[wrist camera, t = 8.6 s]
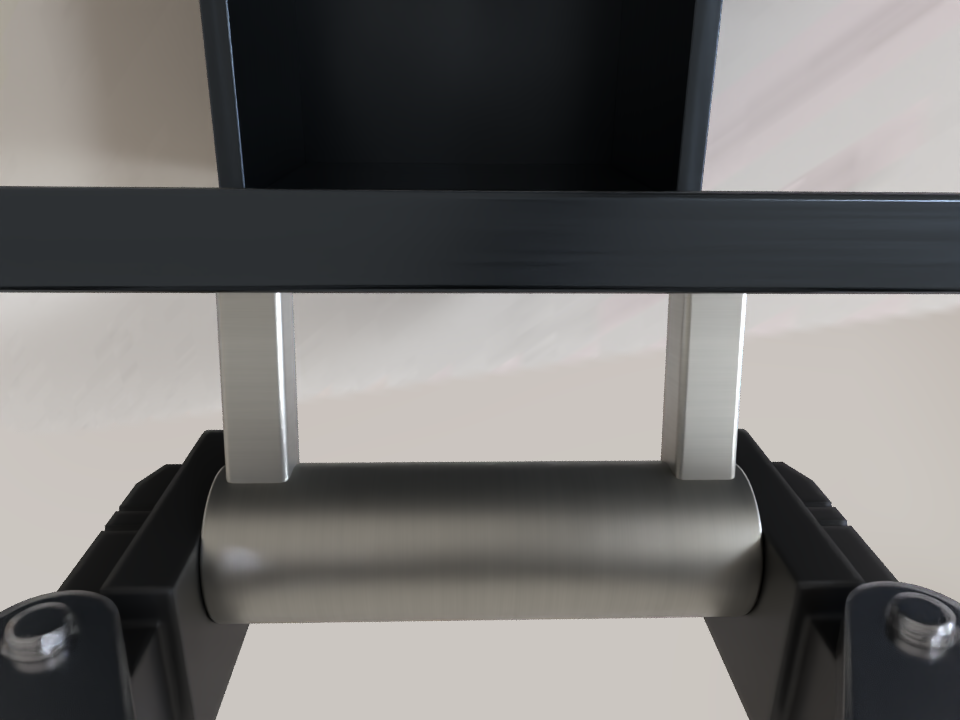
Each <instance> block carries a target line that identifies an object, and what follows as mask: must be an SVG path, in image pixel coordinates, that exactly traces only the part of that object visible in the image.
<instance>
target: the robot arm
mask: <svg viewBox="0 0 960 720" xmlns="http://www.w3.org/2000/svg"><path fill="white" fill-rule="evenodd" d="M736 464H737V465H738V466H739V467H740V468H741V469H742V470H743V471H744V473H745V474H746V476H747V478H748V480H749V482H750V484H751V487H752V489H753V492H754V495H755V498H756V502H757V505H758V510H759V514H760V520H761V526H762V535H763V552H764V561H763V575H762V583H761V588H760V592H759V596H758V598H757V601H756V603H755V605H754V607H753V608H752V610H751V611H750V612H749V613H747V614H745V615H743V616H737V617H704V619H705V622H706V624H707V626H708V628H709V631H710V633H711V635H712V637H713V640H714V642H715V644H716V646H717V649H718V651H719V653H720V655H721V657H722V660H723V662H724V664H725V666H726V668H727V671H728V673H729V675H730V678H731V680H732V682H733V684H734V686H735V689H736V691H737V693H738V695H739V698H740V700H741V702H742V704H743V706H744V709H745V711H746V713H747V716H748V718H749V720H960V603H958V602H957V601H955V600H953V599H951V598H949V597H947V596H945V595H943V594H941V593H938V592H935V591H933V590H930V589H927V588H924V587H921V586H917V585H913V584H907V583H902V582H899V581H898V580H897V579H896V578H895V577H894V576H893V574H892V573H891V572H890V571H889V570H888V569H887V568H886V566H884V564H883V563H882V562H881V560H880V559H879V558H878V557H877V556H876V555H875V553H874V552H873V551H872V550H871V549H870V547H869V546H868V545H867V544H866V543H865V542H864V540H863V539H862V538H861V537H860V536H859V534H858V533H857V532H856V531H855V530H854V529H853V527H852V526H847V520H846V519H845V518H844V517H843V516H842V514H841V513H840V512H839V511H838V510H837V509H836V507H832V506H831V502H830V500H829V499H828V498H827V497H826V496H825V495H824V494H823V492H822V491H821V490H820V489H819V487H818V486H817V485H816V484H815V483H814V482H813V481H812V480H811V479H809V478H808V477H806V476H804V475H803V474H801V473H799V472H798V471H796V470H795V469H793V468H791V467H789V466H788V465H787V464H785V463H783V462H771V461H770V460H769V459H768V457H767V456H766V455H765V454H764V452H763V451H762V450H761V449H760V447H759V446H758V445H757V443H756V442H755V441H754V440H753V438H752V437H751V436H750V435H749V433H748V432H747V431H746V430H744V429H738V434H737V449H736ZM223 466H225V448H224V430H206V431H204V433H203V434H202V435H201V437H200V438H199V440H198V441H197V443H196V444H195V446H194V447H193V449H192V450H191V452H190V453H189V455H188V457H187V458H186V459H185V461H184V463H183V464H166V465H164V466H163V467H161V468H159V469H158V470H157V471H155V472H153V473H152V474H150V475H149V476H147V477H146V478H144V479H143V480H141V481H140V482H138V483H137V484H136V485H135V486H134V488H133V489H132V490H131V492H130V493H129V495H128V496H127V497H126V498H125V500H124V501H123V502H122V504H121V505H120V507H119V511H116V512H115V513H114V515H113V516H112V517H111V519H110V520H109V521H108V523H107V524H106V525H105V531H101V532H100V534H99V535H98V536H97V538H96V539H95V541H94V542H93V543H92V544H91V546H90V547H89V549H88V550H87V551H86V553H85V554H84V555H83V557H82V558H81V559H80V561H79V562H78V563H77V565H76V566H75V568H74V569H73V570H72V572H71V573H70V574H69V576H68V577H67V578H66V580H65V581H64V582H63V584H62V585H61V586H60V588H59V589H58V591H57V592H53V593H49V594H44V595H40V596H37V597H34V598H30V599H27V600H25V601H22V602H20V603H17V604H15V605H14V606H11V607H9V608H7V609H5V610H3V611H2V612H0V720H215V719H216V716H217V714H218V710H219V708H220V705H221V702H222V699H223V697H224V694H225V691H226V688H227V685H228V683H229V680H230V677H231V674H232V671H233V669H234V665H235V663H236V660H237V657H238V655H239V652H240V649H241V646H242V643H243V641H244V638H245V635H246V632H247V629H248V626H249V624H219V623H216V622H214V621H213V620H212V619H211V618H210V616H209V615H208V613H207V610H206V607H205V604H204V600H203V595H202V589H201V581H200V540H201V529H202V521H203V516H204V510H205V506H206V502H207V498H208V494H209V491H210V489H211V486H212V483H213V481H214V479H215V477H216V475H217V473H218V472H219V470H220V469H221V468H222V467H223Z"/></svg>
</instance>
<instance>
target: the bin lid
mask: <svg viewBox="0 0 960 720" xmlns="http://www.w3.org/2000/svg"><path fill="white" fill-rule="evenodd" d="M0 292H50V293H216V304H217V322H218V340H219V358H220V376H221V394H222V412H223V430H224V448H225V466H223V467H222V468H221V469H220V470H219V472H218V473H217V475H216V477H215V479H214V481H213V483H212V486H211V489H210V491H209V494H208V498H207V502H206V506H205V510H204V516H203V521H202V529H201V540H200V581H201V589H202V595H203V600H204V604H205V607H206V610H207V613H208V615H209V616H210V618H211V619H212V620H213V621H214V622H216V623H219V624H250V623H320V622H389V621H451V620H453V621H456V620H457V621H458V620H526V619H527V620H528V619H595V618H596V619H598V618H663V617H664V618H665V617H666V618H667V617H737V616H743V615H745V614H747V613H749V612H750V611H751V610H752V608H753V607H754V605H755V603H756V601H757V598H758V596H759V592H760V588H761V583H762V575H763V561H764V552H763V535H762V526H761V520H760V514H759V510H758V505H757V502H756V498H755V495H754V492H753V489H752V487H751V484H750V482H749V480H748V478H747V476H746V474H745V473H744V471H743V470H742V469H741V468H740V467H739V466H738V465H737V464H736V449H737V434H738V418H739V404H740V388H741V373H742V357H743V343H744V328H745V313H746V298H747V294H960V193H930V192H782V191H634V190H485V189H337V188H189V187H41V186H0ZM293 293H654V294H669V304H668V324H667V345H666V367H665V387H664V407H663V408H664V409H663V428H662V449H661V461H544V462H543V461H539V462H536V461H534V462H394V463H392V462H391V463H390V462H386V463H299V445H298V420H297V390H296V364H295V338H294V311H293Z"/></svg>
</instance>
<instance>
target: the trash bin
mask: <svg viewBox="0 0 960 720" xmlns="http://www.w3.org/2000/svg"><path fill="white" fill-rule="evenodd" d="M722 2H723V0H199V3H200V12H201V21H202V31H203V40H204V49H205V59H206V68H207V78H208V87H209V96H210V106H211V115H212V124H213V134H214V143H215V153H216V162H217V171H218V181H219V188H337V189H485V190H634V191H701V190H702V181H703V172H704V163H705V154H706V145H707V136H708V127H709V118H710V110H711V101H712V92H713V83H714V74H715V65H716V56H717V47H718V38H719V29H720V20H721V11H722Z"/></svg>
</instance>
